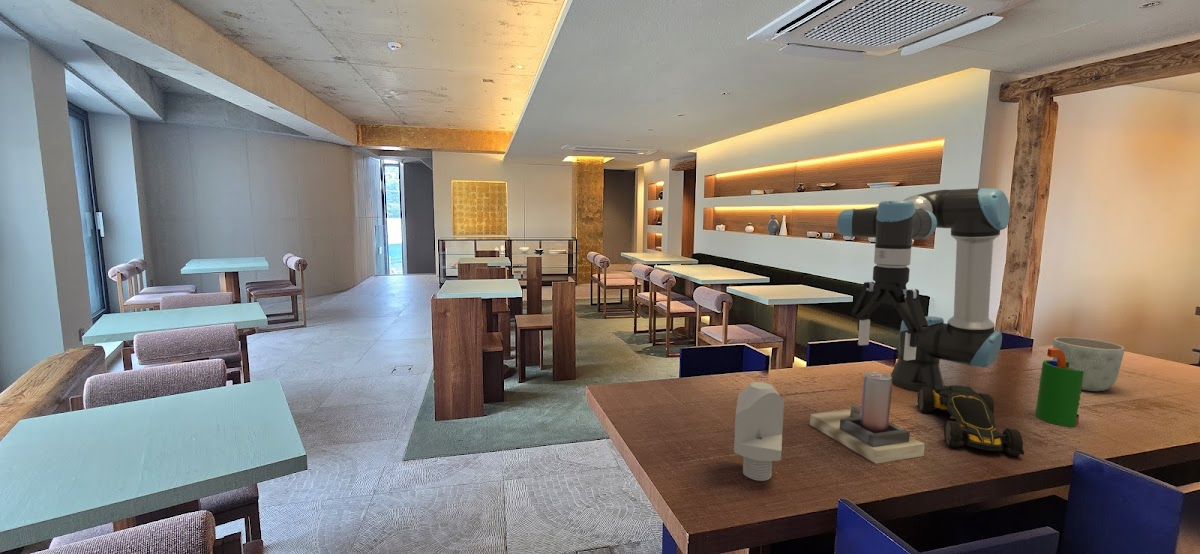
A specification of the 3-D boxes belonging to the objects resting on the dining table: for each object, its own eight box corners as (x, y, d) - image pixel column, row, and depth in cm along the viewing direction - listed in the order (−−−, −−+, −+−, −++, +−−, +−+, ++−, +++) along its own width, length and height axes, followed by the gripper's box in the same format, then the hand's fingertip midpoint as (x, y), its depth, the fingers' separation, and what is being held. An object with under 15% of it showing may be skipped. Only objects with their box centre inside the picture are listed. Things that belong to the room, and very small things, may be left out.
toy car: (982, 414, 143) (986, 380, 142) (1030, 464, 114) (1035, 422, 113) (916, 405, 149) (919, 373, 148) (945, 451, 120) (949, 411, 119)
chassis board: (809, 424, 134) (811, 403, 133) (852, 419, 138) (853, 398, 137) (875, 463, 113) (877, 438, 112) (923, 456, 117) (925, 431, 116)
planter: (1109, 384, 169) (1115, 341, 167) (1126, 400, 155) (1133, 352, 153) (1043, 375, 178) (1048, 334, 176) (1054, 389, 164) (1059, 344, 162)
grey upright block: (732, 480, 105) (736, 389, 103) (737, 460, 114) (740, 376, 111) (779, 489, 102) (784, 395, 99) (780, 468, 111) (785, 381, 108)
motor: (1089, 428, 134) (1099, 356, 131) (1050, 425, 135) (1059, 353, 133) (1062, 414, 143) (1071, 346, 141) (1026, 411, 145) (1034, 344, 143)
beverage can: (854, 430, 124) (859, 371, 122) (877, 429, 124) (882, 371, 122) (869, 440, 118) (874, 379, 116) (892, 440, 118) (898, 379, 117)
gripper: (839, 261, 130) (835, 340, 133) (926, 272, 106) (918, 368, 109) (863, 260, 132) (858, 338, 135) (953, 271, 108) (944, 365, 111)
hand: (885, 351), depth 122 cm, fingers open, 13 cm apart
